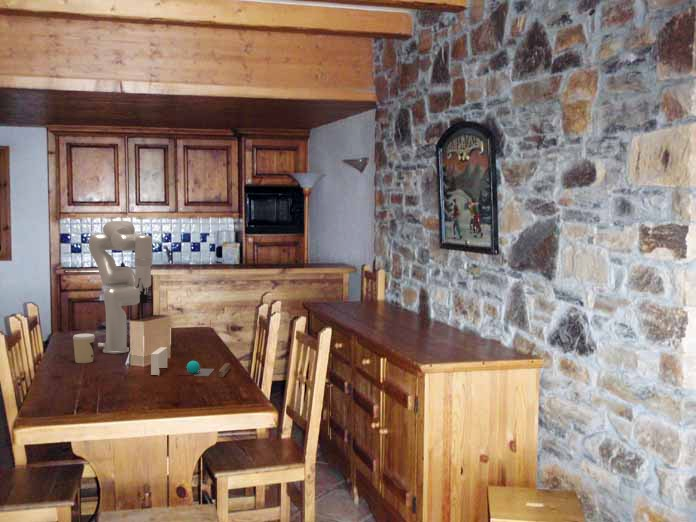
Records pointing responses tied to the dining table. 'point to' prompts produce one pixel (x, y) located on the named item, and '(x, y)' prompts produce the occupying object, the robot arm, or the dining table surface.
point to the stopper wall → (224, 370)
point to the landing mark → (204, 372)
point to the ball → (193, 367)
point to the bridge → (158, 360)
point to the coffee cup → (84, 348)
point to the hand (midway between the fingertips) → (143, 303)
